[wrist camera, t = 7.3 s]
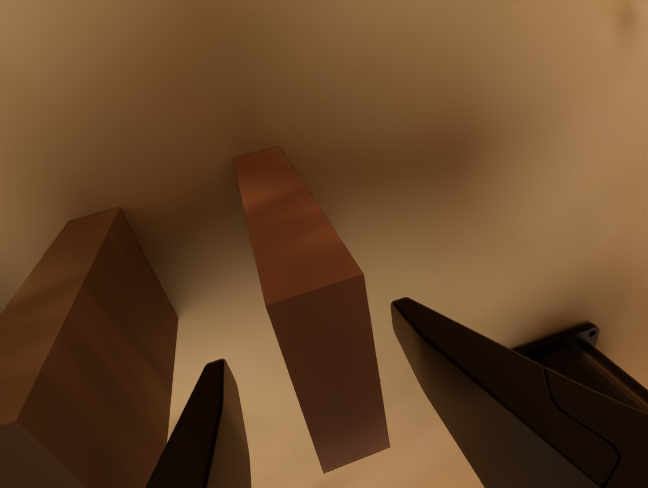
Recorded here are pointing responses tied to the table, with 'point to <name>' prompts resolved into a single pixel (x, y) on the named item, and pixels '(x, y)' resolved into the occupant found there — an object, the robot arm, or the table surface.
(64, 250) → the domino
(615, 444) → the robot arm
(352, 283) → the domino
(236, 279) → the table surface
